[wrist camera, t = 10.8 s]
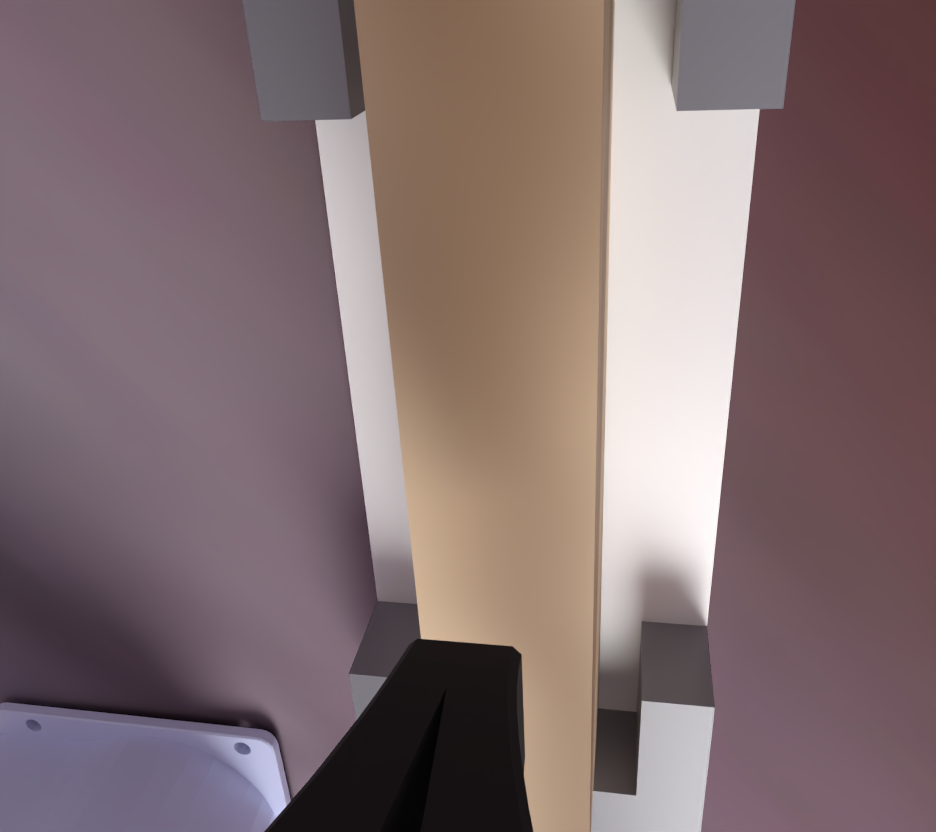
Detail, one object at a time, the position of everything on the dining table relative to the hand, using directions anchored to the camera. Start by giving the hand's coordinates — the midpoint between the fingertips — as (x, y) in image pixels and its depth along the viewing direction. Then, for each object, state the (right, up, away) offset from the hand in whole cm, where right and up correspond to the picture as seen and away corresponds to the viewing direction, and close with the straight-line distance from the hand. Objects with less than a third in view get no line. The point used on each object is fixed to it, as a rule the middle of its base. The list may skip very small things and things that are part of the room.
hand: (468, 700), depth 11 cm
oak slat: (+1, +4, +7) cm, 8 cm away
